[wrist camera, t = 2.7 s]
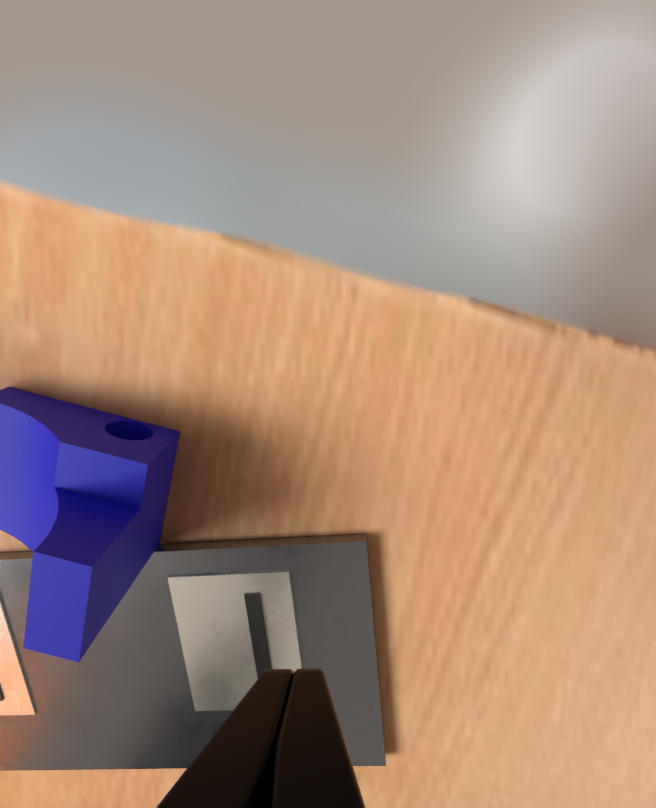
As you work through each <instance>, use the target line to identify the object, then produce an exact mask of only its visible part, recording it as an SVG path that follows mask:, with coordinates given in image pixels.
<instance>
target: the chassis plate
mask: <svg viewBox="0 0 656 808" xmlns="http://www.w3.org/2000/svg"><path fill="white" fill-rule="evenodd" d="M32 559H33V551H25V552H6V553H0V771H4V770H82V769H159V768H188V767H189V766H190V764H191V763H192V762H193V761H194V759H195V758H196V757H197V756H198V754H199V753H200V752H201V750H202V749H203V748H204V747H205V745H206V744H207V743H208V742H209V740H210V739H211V738H212V736H213V735H214V734H215V733H216V731H217V730H218V729H219V728H220V726H221V725H222V724H223V723H224V721H225V720H226V719H227V717H228V716H229V715H230V714H231V712H232V711H233V710H234V709H235V707H236V706H237V705H238V704H239V702H240V701H241V700H242V698H243V697H244V696H245V695H246V693H247V692H248V691H249V690H250V688H251V687H252V686H253V684H254V683H255V682H256V681H257V679H258V678H259V677H260V676H261V674H262V673H263V672H264V671H266V670H268V669H291V670H292V671H294V672H295V671H296V670H297V669H304V668H320V669H322V670H323V671H324V674H325V677H326V680H327V683H328V687H329V690H330V693H331V696H332V700H333V703H334V706H335V710H336V713H337V716H338V719H339V723H340V726H341V729H342V733H343V736H344V739H345V742H346V746H347V749H348V752H349V756H350V759H351V762H352V765H353V766H386V760H385V745H384V733H383V722H382V710H381V699H380V687H379V676H378V664H377V653H376V641H375V630H374V618H373V607H372V595H371V583H370V572H369V560H368V549H367V537H366V534H353V535H334V536H315V537H295V538H276V539H257V540H237V541H218V542H199V543H179V544H160V545H158V547H157V548H156V550H155V551H154V553H153V554H152V556H151V557H150V559H149V560H148V561H147V563H146V564H145V566H144V567H143V569H142V570H141V572H140V573H139V575H138V576H137V578H136V579H135V581H134V582H133V584H132V585H131V586H130V588H129V589H128V591H127V592H126V594H125V595H124V597H123V598H122V600H121V601H120V603H119V604H118V606H117V607H116V609H115V610H114V612H113V613H112V614H111V616H110V617H109V619H108V620H107V622H106V623H105V625H104V626H103V628H102V629H101V631H100V632H99V634H98V635H97V637H96V638H95V639H94V641H93V642H92V644H91V645H90V647H89V648H88V650H87V651H86V653H85V654H84V656H83V657H82V659H81V660H80V662H75V661H71V660H67V659H64V658H60V657H56V656H52V655H48V654H44V653H40V652H36V651H32V650H29V649H25V648H23V646H24V637H25V627H26V617H27V607H28V598H29V588H30V578H31V568H32Z"/></svg>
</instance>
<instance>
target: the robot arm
mask: <svg viewBox="0 0 656 808" xmlns="http://www.w3.org/2000/svg"><path fill="white" fill-rule="evenodd" d="M157 808H365V805H364V802H363V798H362V795H361V792H360V789H359V785H358V782H357V779H356V775H355V772H354V769H353V765H352V762H351V759H350V756H349V752H348V749H347V746H346V742H345V739H344V736H343V733H342V729H341V726H340V723H339V719H338V716H337V713H336V710H335V706H334V703H333V700H332V696H331V693H330V690H329V687H328V683H327V680H326V677H325V674H324V671H323V670H322V669H320V668H304V669H297V670H296V671H295V672H294V671H292V670H291V669H268V670H266V671H264V672H263V673H262V674H261V676H260V677H259V678H258V679H257V681H256V682H255V683H254V684H253V686H252V687H251V688H250V690H249V691H248V692H247V693H246V695H245V696H244V697H243V698H242V700H241V701H240V702H239V704H238V705H237V706H236V707H235V709H234V710H233V711H232V712H231V714H230V715H229V716H228V717H227V719H226V720H225V721H224V723H223V724H222V725H221V726H220V728H219V729H218V730H217V731H216V733H215V734H214V735H213V736H212V738H211V739H210V740H209V742H208V743H207V744H206V745H205V747H204V748H203V749H202V750H201V752H200V753H199V754H198V756H197V757H196V758H195V759H194V761H193V762H192V763H191V764H190V766H189V767H188V768H187V769H186V771H185V772H184V773H183V775H182V776H181V777H180V778H179V780H178V781H177V782H176V783H175V785H174V786H173V787H172V788H171V790H170V791H169V792H168V794H167V795H166V796H165V797H164V799H163V800H162V801H161V802H160V804H159V805H158V806H157Z"/></svg>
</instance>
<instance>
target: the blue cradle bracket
mask: <svg viewBox="0 0 656 808" xmlns="http://www.w3.org/2000/svg"><path fill="white" fill-rule="evenodd" d="M179 435H180V431H176V430H172V429H168V428H165V427H161V426H157V425H153V424H149V423H145V422H142V421H138V420H134V419H130V418H126V417H123V416H119V415H115V414H111V413H107V412H103V411H100V410H96V409H92V408H88V407H84V406H80V405H77V404H73V403H69V402H65V401H61V400H58V399H54V398H50V397H46V396H42V395H38V394H35V393H31V392H27V391H23V390H19V389H16V388H12V387H7V388H5V389H2V390H0V530H2V531H4V532H6V533H8V534H10V535H12V536H14V537H15V538H17V539H18V540H20V541H21V542H22V543H24V544H25V545H26V546H27V547H28V548H29V549H31V550H32V551H33V559H32V568H31V578H30V588H29V598H28V607H27V617H26V627H25V637H24V646H23V648H25V649H29V650H32V651H36V652H40V653H44V654H48V655H52V656H56V657H60V658H64V659H67V660H71V661H75V662H80V660H81V659H82V657H83V656H84V654H85V653H86V651H87V650H88V648H89V647H90V645H91V644H92V642H93V641H94V639H95V638H96V637H97V635H98V634H99V632H100V631H101V629H102V628H103V626H104V625H105V623H106V622H107V620H108V619H109V617H110V616H111V614H112V613H113V612H114V610H115V609H116V607H117V606H118V604H119V603H120V601H121V600H122V598H123V597H124V595H125V594H126V592H127V591H128V589H129V588H130V586H131V585H132V584H133V582H134V581H135V579H136V578H137V576H138V575H139V573H140V572H141V570H142V569H143V567H144V566H145V564H146V563H147V561H148V560H149V559H150V557H151V556H152V554H153V553H154V551H155V550H156V548H157V547H158V545H159V544H160V539H161V534H162V528H163V523H164V517H165V512H166V506H167V501H168V495H169V490H170V484H171V479H172V473H173V468H174V462H175V457H176V451H177V446H178V440H179Z"/></svg>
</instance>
